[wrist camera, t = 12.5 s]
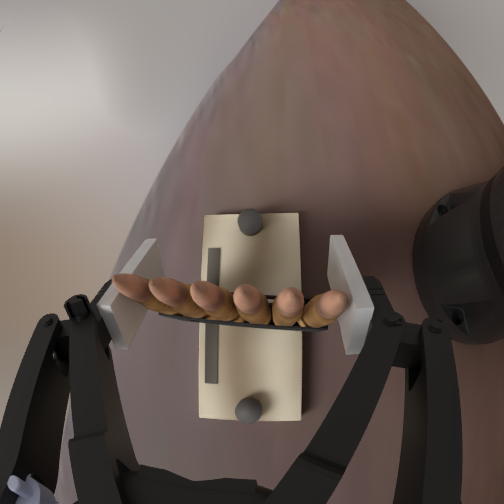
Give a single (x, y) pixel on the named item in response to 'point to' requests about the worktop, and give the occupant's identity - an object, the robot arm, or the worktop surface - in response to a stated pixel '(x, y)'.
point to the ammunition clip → (233, 304)
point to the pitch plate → (244, 338)
